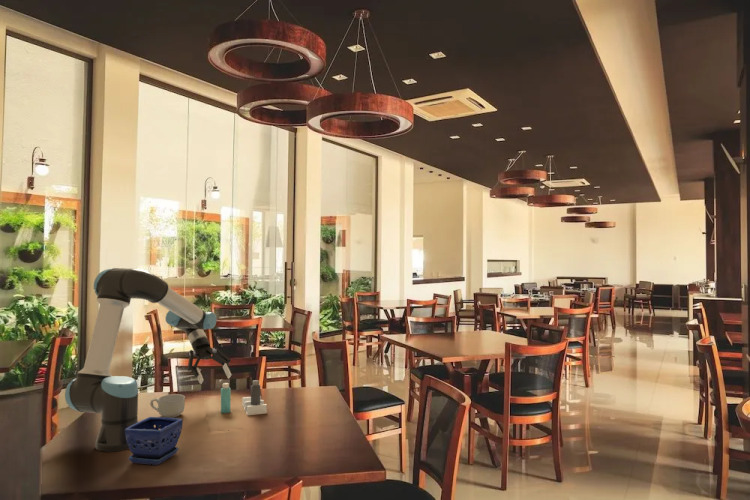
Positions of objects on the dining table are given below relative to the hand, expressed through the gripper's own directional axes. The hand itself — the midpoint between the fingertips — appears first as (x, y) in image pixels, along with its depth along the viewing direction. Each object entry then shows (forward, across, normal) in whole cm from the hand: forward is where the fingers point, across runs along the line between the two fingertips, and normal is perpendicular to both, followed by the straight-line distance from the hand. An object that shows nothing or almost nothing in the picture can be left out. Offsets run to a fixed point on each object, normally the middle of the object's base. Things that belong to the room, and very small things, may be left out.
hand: (216, 379), depth 229 cm
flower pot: (+36, +44, +17) cm, 59 cm away
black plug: (+22, -8, +4) cm, 23 cm away
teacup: (+5, +18, -15) cm, 24 cm away
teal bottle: (+16, +1, -3) cm, 16 cm away
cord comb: (+20, -10, +1) cm, 22 cm away
